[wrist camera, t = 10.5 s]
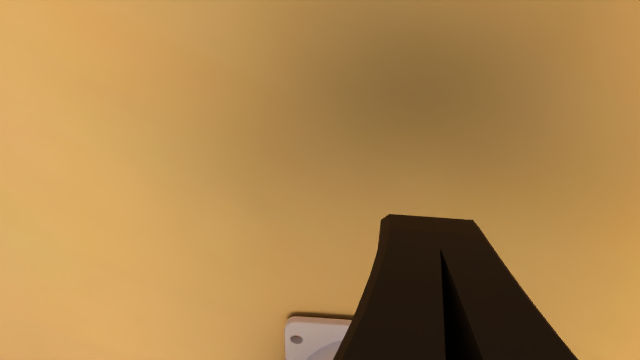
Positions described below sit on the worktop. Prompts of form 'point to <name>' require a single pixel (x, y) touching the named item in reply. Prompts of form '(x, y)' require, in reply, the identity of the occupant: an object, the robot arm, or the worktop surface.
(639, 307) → the worktop surface
